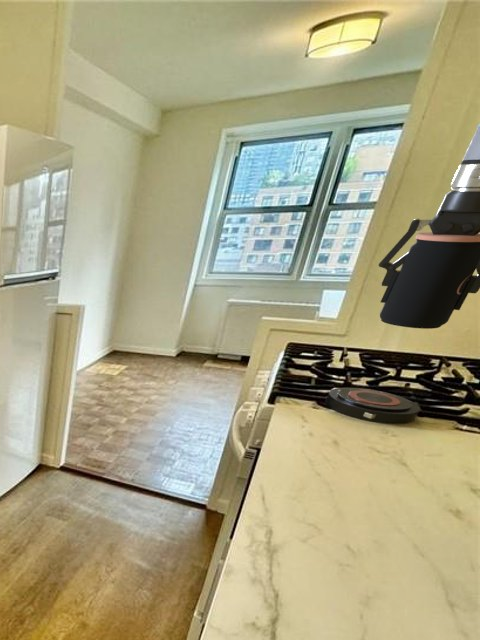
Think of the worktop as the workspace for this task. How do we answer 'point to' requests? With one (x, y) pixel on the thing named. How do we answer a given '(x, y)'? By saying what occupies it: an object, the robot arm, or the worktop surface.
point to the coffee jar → (431, 280)
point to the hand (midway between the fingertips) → (418, 305)
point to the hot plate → (372, 405)
